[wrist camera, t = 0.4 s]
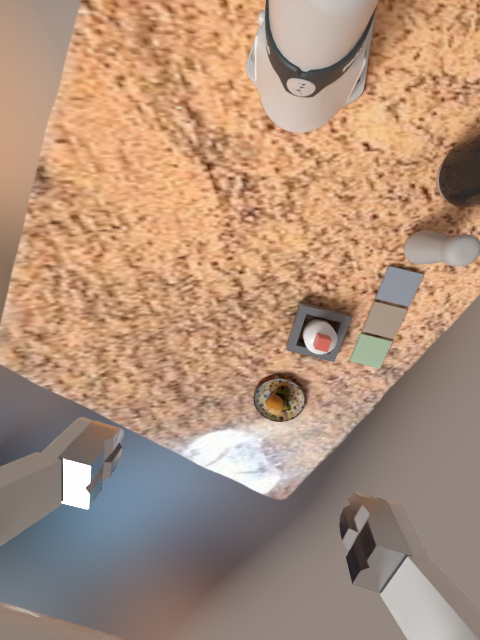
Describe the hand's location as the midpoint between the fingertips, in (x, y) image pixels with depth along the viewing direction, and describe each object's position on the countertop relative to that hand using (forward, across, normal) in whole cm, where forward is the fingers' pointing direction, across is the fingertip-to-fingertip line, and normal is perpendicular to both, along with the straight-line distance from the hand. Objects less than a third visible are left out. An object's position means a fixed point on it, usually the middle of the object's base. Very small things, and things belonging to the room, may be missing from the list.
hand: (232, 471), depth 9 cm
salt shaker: (+45, -26, -12) cm, 53 cm away
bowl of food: (+46, -11, +26) cm, 54 cm away
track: (+45, -26, +2) cm, 52 cm away
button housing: (+45, -14, +8) cm, 48 cm away
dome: (+43, -13, +8) cm, 46 cm away
